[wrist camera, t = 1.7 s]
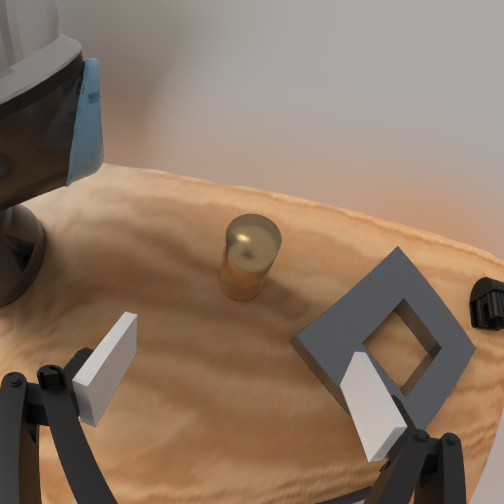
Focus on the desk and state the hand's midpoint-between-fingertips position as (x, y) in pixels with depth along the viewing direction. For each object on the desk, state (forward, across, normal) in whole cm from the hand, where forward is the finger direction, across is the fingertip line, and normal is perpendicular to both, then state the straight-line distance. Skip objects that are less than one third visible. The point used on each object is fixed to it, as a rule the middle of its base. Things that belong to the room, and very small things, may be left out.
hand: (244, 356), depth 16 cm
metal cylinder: (+19, 0, -3) cm, 19 cm away
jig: (+14, +20, -7) cm, 26 cm away
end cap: (+20, +42, -2) cm, 47 cm away
